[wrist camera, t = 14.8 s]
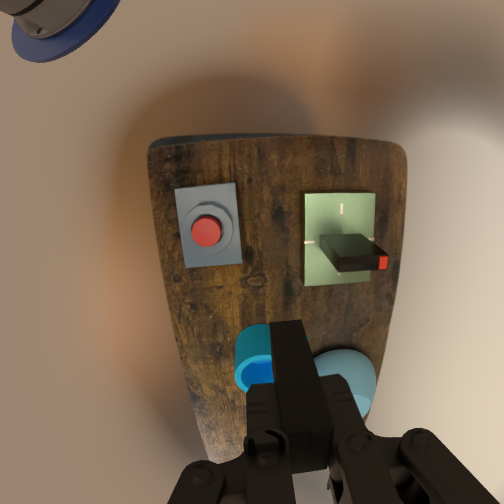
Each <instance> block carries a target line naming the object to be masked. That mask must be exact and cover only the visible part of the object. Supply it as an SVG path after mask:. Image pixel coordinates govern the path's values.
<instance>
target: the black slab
mask: <svg viewBox="0 0 504 504" xmlns="http://www.w3.org/2000/svg"><path fill="white" fill-rule="evenodd" d="M320 249H321V250H322V252H323V253H324V254H325V256H326V257H327V258H328V259H329V261H330V262H331V263H332V265H333V266H334V267H335V269H336V270H337V271H338V273H341V272H355V271H369V270H382V269H387V265H388V254H387V253H386V252H385V251H384V250H382V249H381V248H380V247H378V246H377V245H376V244H374V243H373V242H372V241H370V240H369V239H368V238H366V237H365V236H364V235H362V234H336V235H320Z"/></svg>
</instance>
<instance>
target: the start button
mask: <svg viewBox="0 0 504 504" xmlns="http://www.w3.org/2000/svg"><path fill="white" fill-rule="evenodd" d="M221 230H222V229H221V225H220V223H219V221H218V220H217V219H216V218H214V217H212V216H203V217H201V218H199V219H198V220H197V221H196V222H195V224H194V225H193V227H192V237H193V239H194V241H195V242H196V243H197V244H198V245H200V246H203V247H210V246H213V245H214V244H216V243H217V242H218V240H219V238H220V235H221Z"/></svg>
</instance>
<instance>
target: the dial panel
mask: <svg viewBox="0 0 504 504" xmlns="http://www.w3.org/2000/svg"><path fill="white" fill-rule="evenodd" d="M374 218H375V193H374V192H371V191H368V190H313V191H301V280H302V282H303V284H304V286H318V285H331V284H344V283H356V282H368V281H370V272H371V270H369V271H355V272H341V273H338V271H337V270H336V269H335V267H334V266H333V265H332V263H331V262H330V261H329V259H328V258H327V257H326V256H325V254H324V253H323V252H322V250H321V249H320V235H336V234H362V235H364V236H365V237H366V238H368V239H369V240H370V241H372V242H373V240H374V238H373V236H374Z"/></svg>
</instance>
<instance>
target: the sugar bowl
mask: <svg viewBox="0 0 504 504" xmlns="http://www.w3.org/2000/svg"><path fill="white" fill-rule="evenodd" d="M314 361H315V365H316V368H317V371H318V374H319V376H325V375H331V374H338V373H339V374H340V375H341V376H342V377H343V378H345V379H346V380H347V382H348V384H349V387H350V389H351V392H352V394H353V396H354V399H355V401H356V404H357V406H358V409H359V411H360V414H361V416H362V418H363V417H364V416H365V415H366V414H367V412H368V411H369V409H370V407H371V404H372V401H373V398H374V395H375V390H376V375H375V371H374V367H373V365H372V363H371V361H370V360H369V359H368V358H367V357H366V356H365V355H364V354H362V353H360V352H358V351H355V350H349V349H338V350H332V351H328V352H325V353H323V354H320V355H318V356H317V357H315V358H314Z"/></svg>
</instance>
